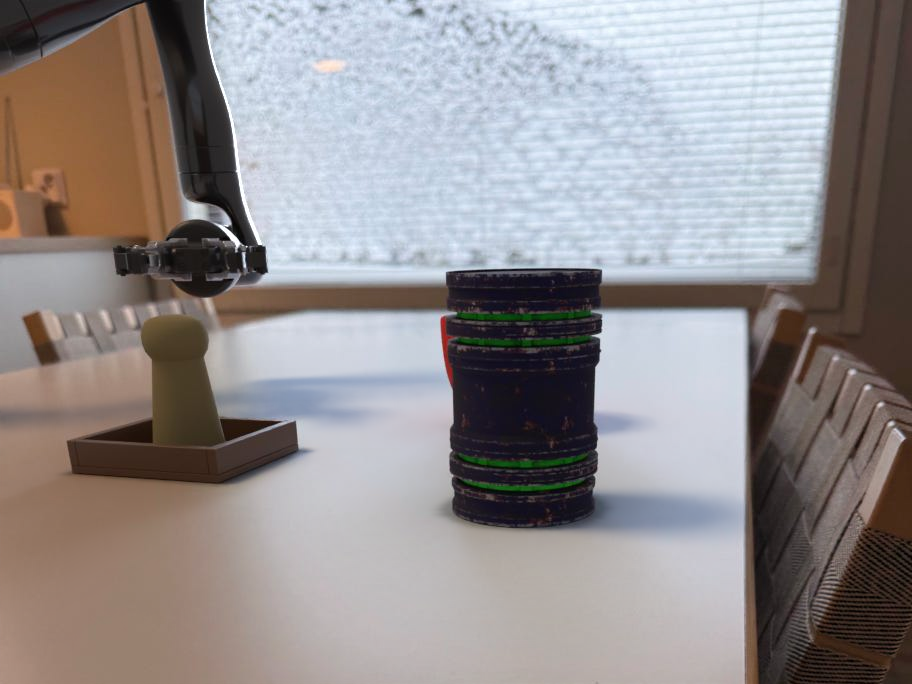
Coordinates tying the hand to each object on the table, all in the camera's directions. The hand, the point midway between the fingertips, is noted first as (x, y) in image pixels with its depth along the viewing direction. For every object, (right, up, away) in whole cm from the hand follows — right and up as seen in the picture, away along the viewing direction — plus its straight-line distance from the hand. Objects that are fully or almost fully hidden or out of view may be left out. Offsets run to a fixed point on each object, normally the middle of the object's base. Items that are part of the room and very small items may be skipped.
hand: (184, 261), depth 87 cm
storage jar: (+30, -26, -22) cm, 45 cm away
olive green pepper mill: (+3, -19, -7) cm, 20 cm away
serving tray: (+3, -19, -7) cm, 21 cm away
